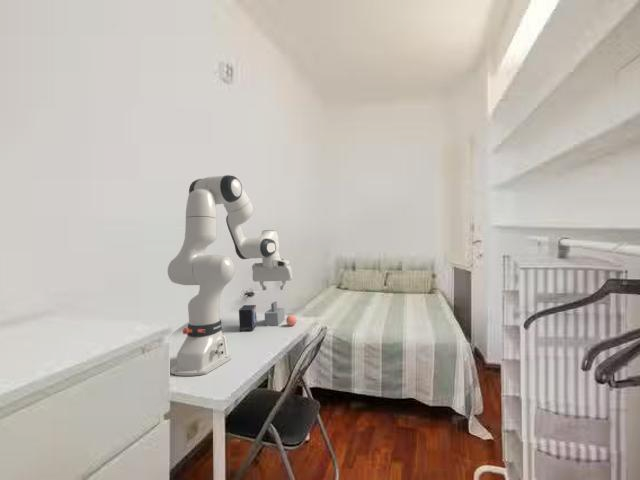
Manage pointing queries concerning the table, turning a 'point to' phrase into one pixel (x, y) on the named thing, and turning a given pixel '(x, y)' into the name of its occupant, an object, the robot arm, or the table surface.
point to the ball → (291, 320)
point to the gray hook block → (274, 315)
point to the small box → (247, 318)
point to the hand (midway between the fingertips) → (273, 289)
